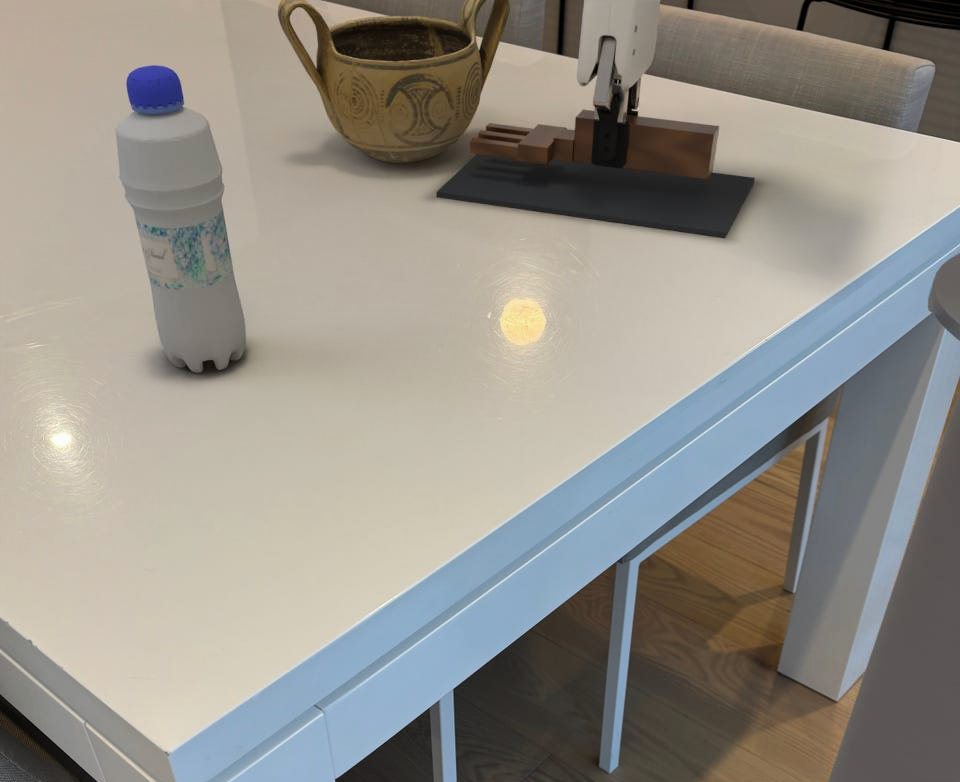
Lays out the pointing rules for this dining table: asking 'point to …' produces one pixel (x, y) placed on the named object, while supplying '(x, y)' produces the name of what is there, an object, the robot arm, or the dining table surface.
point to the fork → (647, 145)
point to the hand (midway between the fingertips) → (612, 158)
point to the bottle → (180, 221)
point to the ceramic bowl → (400, 77)
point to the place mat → (604, 193)
